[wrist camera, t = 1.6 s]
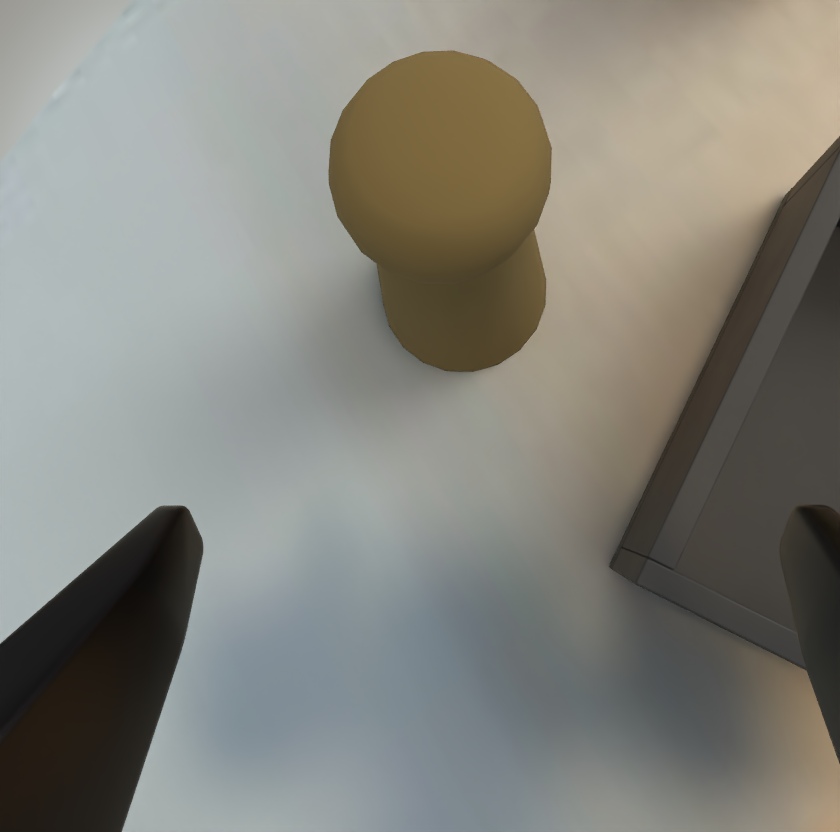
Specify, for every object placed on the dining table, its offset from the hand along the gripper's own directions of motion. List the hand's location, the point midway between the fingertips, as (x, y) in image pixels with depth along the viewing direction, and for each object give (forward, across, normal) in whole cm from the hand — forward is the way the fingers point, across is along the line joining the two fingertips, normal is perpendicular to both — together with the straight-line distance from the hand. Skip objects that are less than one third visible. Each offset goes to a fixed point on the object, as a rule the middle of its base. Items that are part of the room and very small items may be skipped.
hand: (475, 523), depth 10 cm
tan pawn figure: (+16, +1, +5) cm, 16 cm away
